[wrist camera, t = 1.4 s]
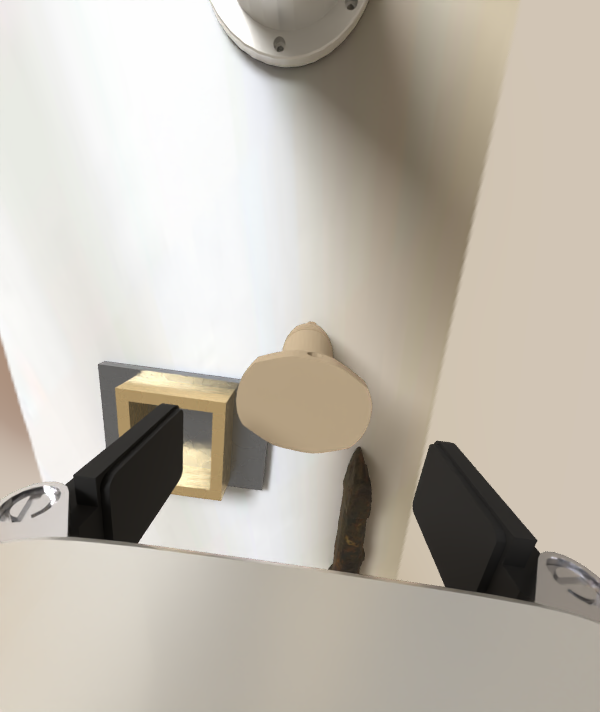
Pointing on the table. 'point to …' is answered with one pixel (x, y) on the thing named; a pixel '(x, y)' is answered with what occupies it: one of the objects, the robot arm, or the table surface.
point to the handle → (304, 396)
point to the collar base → (188, 424)
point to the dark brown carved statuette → (353, 516)
